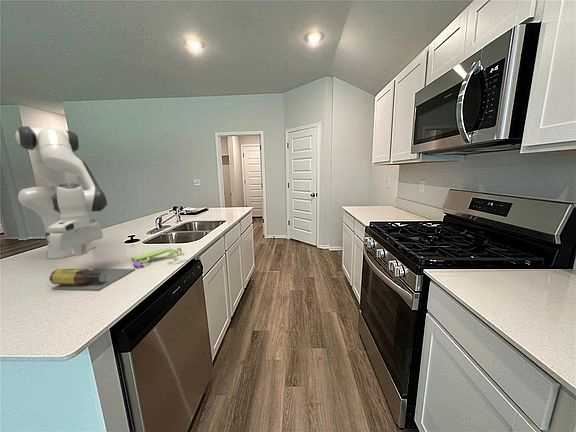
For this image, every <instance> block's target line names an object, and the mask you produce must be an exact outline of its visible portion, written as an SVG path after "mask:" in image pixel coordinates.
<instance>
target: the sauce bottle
mask: <svg viewBox="0 0 576 432" xmlns="http://www.w3.org/2000/svg"><path fill="white" fill-rule="evenodd" d="M106 278H107V275H106V273H105V272H92V271H91V270H90V269H88V268H86V269H85V268H57V269H55V270H53V271H52V272H51V273H50V275H49V281H50V283H51V284H53V285H85V284H89V283H91V282H104V281H105V280H106Z"/></svg>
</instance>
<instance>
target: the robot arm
mask: <svg viewBox="0 0 576 432" xmlns="http://www.w3.org/2000/svg"><path fill="white" fill-rule="evenodd" d="M15 140H16V142H17V143H18V144H19V146H20V147H21V148H23V149H25V150H30V151H33V163H34V171H35V175H36V176H37V177H38V178H39V179H42V180H44V181H47V182H50V183H51V184H52V185H50V186H49V185H48V186H47V185H46V186H33V187H28V188H27V187H26V188H22V189H20V190H19V192H18V194H17V199H18V202H19V204H21V205H22V206H23V207H24V208H27V209H29V210H32V211H34V212H35V213H36V214H38V215H39V217H40V218H41V221H42V222H43V225H44V228H45V232H44V236H45V239H46V242H47V256H46V258H47V259H54V260H55V259H62V258H68V257H72V256H73V257H74V256H78V257H79V256H83V255H86V254H87V253H88V251H91V250H93V249H95V248H97V247H96V245H94V244H91V243H92V242H94V241H97V240H101V239H103V236H104V234H103V230H102V227H101V225H100V222H99V220H97V219H95V218H93V219H90V216H89V215H90V214H89V212H101V211H103V210H104V209H105V208H106V207H107V206H108V199H107V196H106V194H105V193H104V191H103V189H101V187H100V185H99V184H98V181H96V178H95V176H94V175H93V173H92V170H91V169H90V168H89V166H88V164H87V163H86V162H85V161H84V160H82V159H80V158H79V157H77V156H76V155H75V154H74V153H75V152H77V151H78V150H79V149H80V145H81V142H80V139H79V137H78V135H77V134H76V133H75V132H74V131H70V130H68V129H67V130H63V129H58V128H54V127H53V128H51V127H38V126H37V127H36V126H35V127H33V126H28V125H27V126H20V127H18V128H17V129H16V132H15ZM66 173H67V174H71V175H74V176H76V177H78V178H80V179H81V180H82V182H83V183H84V185H85V188H86V190H84V189H83V186H82V185H81V184H78V183H72V182H70V180H69V179H68V177H67V175H66Z"/></svg>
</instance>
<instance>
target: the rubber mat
mask: <svg viewBox="0 0 576 432" xmlns="http://www.w3.org/2000/svg"><path fill="white" fill-rule="evenodd" d="M90 271H92V272H105V273H106V275H107V278H106V280H105V281H104V282H91V283H89V284H85V285H60V284H57V285H56V286H54V287H52V288H51V290H53V291H85V292H86V291H87V292H88V291H90V292H91V291H92V292H94V291H95V292H99V291H101V290H103V289H106V287H109V286H110V285H112V284H113V283H115V282H117V281H119V280H121V279H122V278H124V277H126V276H128V275H130V274H131V273H133V272H134V271H136V268H102V267H101V268H93V269H91V270H90Z"/></svg>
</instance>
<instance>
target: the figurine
mask: <svg viewBox="0 0 576 432" xmlns="http://www.w3.org/2000/svg"><path fill="white" fill-rule="evenodd" d="M167 252H168V253H167ZM181 252H182V248H181V247H177V249H173V248H170V247H169V248H168V247H167V248H160V249H155V250H152V251H149V252H146V253H142V254H140V255H134V256H131V258H130V260H131V261H134V262H133V263H132V265H133V267H134V269H140V268H144V267H145V266H144V263H147V262H149V261H150V259H151V258H152V259H153V258H154V259H155V258H157V259H159V258H158V257H159V256H161V255H163V254H165V253H167V254H166V255H165V258H166V259H174V258H177V257H179V256H185V253H184V252H182V253H181ZM175 253H176V254H175ZM157 256H158V257H157Z"/></svg>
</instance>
